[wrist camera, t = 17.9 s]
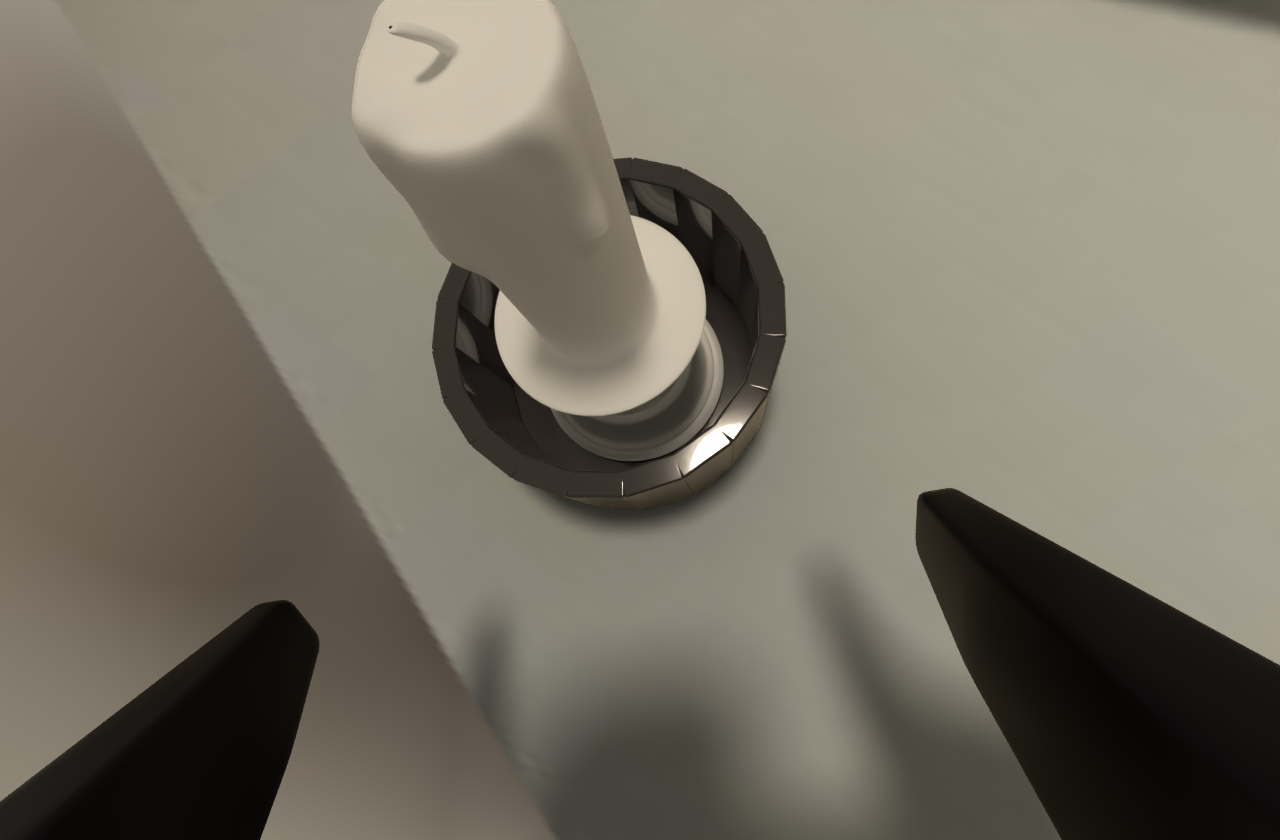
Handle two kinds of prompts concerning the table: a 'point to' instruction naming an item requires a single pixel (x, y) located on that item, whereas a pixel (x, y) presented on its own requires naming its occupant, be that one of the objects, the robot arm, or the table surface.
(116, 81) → the table surface
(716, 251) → the holder
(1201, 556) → the table surface
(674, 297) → the candle
